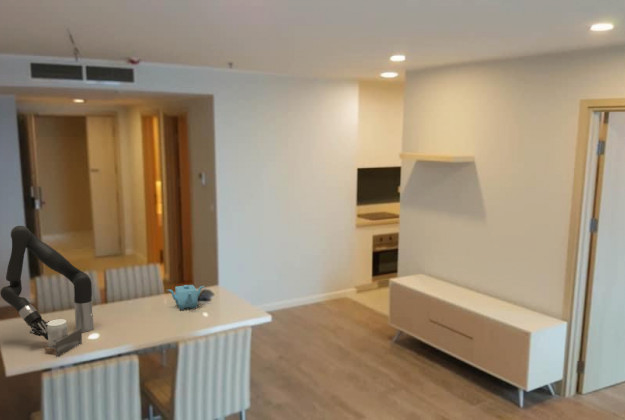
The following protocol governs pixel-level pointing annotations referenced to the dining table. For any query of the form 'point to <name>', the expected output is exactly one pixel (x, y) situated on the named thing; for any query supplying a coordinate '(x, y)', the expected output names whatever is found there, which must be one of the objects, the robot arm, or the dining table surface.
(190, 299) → the teakettle
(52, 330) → the supplement tub
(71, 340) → the walnut dock
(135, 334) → the dining table surface
